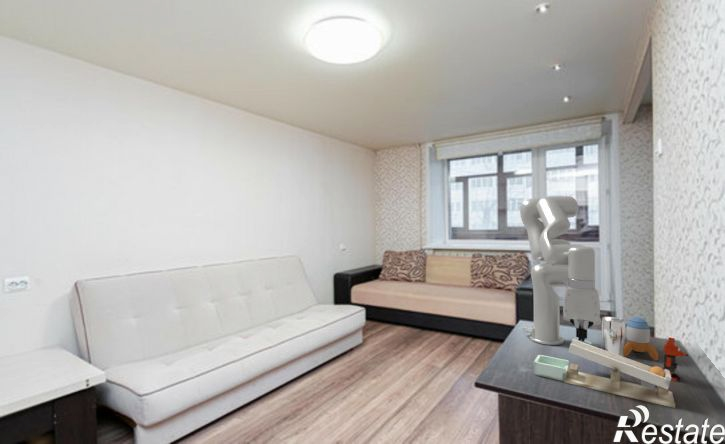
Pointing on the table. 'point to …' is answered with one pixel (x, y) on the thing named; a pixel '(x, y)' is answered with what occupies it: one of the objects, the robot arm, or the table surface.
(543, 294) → the robot arm
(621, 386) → the stand
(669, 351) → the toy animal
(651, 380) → the lever
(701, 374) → the table surface
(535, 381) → the table surface
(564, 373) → the tray
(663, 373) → the ball
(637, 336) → the toy rocket
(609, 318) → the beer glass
